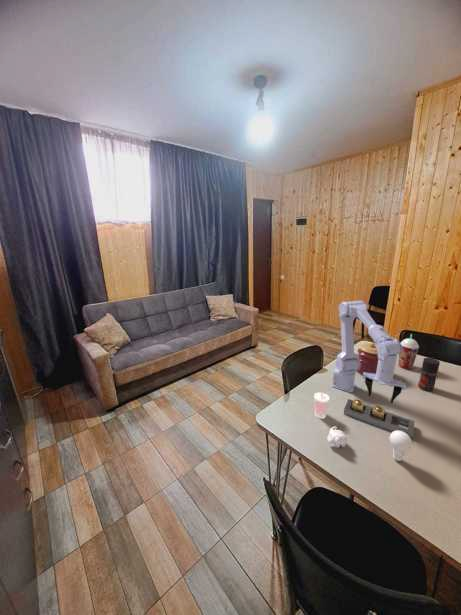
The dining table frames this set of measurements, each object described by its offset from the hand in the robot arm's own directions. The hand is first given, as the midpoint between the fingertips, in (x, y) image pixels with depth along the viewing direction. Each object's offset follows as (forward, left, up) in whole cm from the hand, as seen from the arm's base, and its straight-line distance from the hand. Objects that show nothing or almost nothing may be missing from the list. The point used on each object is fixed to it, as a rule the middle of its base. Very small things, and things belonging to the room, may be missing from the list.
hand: (380, 398), depth 100 cm
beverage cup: (-20, -12, -10) cm, 25 cm away
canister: (-9, +36, -10) cm, 39 cm away
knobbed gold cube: (0, -1, -9) cm, 10 cm away
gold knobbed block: (-7, -2, -9) cm, 12 cm away
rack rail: (0, -2, -9) cm, 9 cm away
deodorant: (+16, +35, -10) cm, 40 cm away
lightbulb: (+8, -19, -10) cm, 23 cm away
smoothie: (+7, +53, -10) cm, 55 cm away
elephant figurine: (-10, -24, -10) cm, 27 cm away
